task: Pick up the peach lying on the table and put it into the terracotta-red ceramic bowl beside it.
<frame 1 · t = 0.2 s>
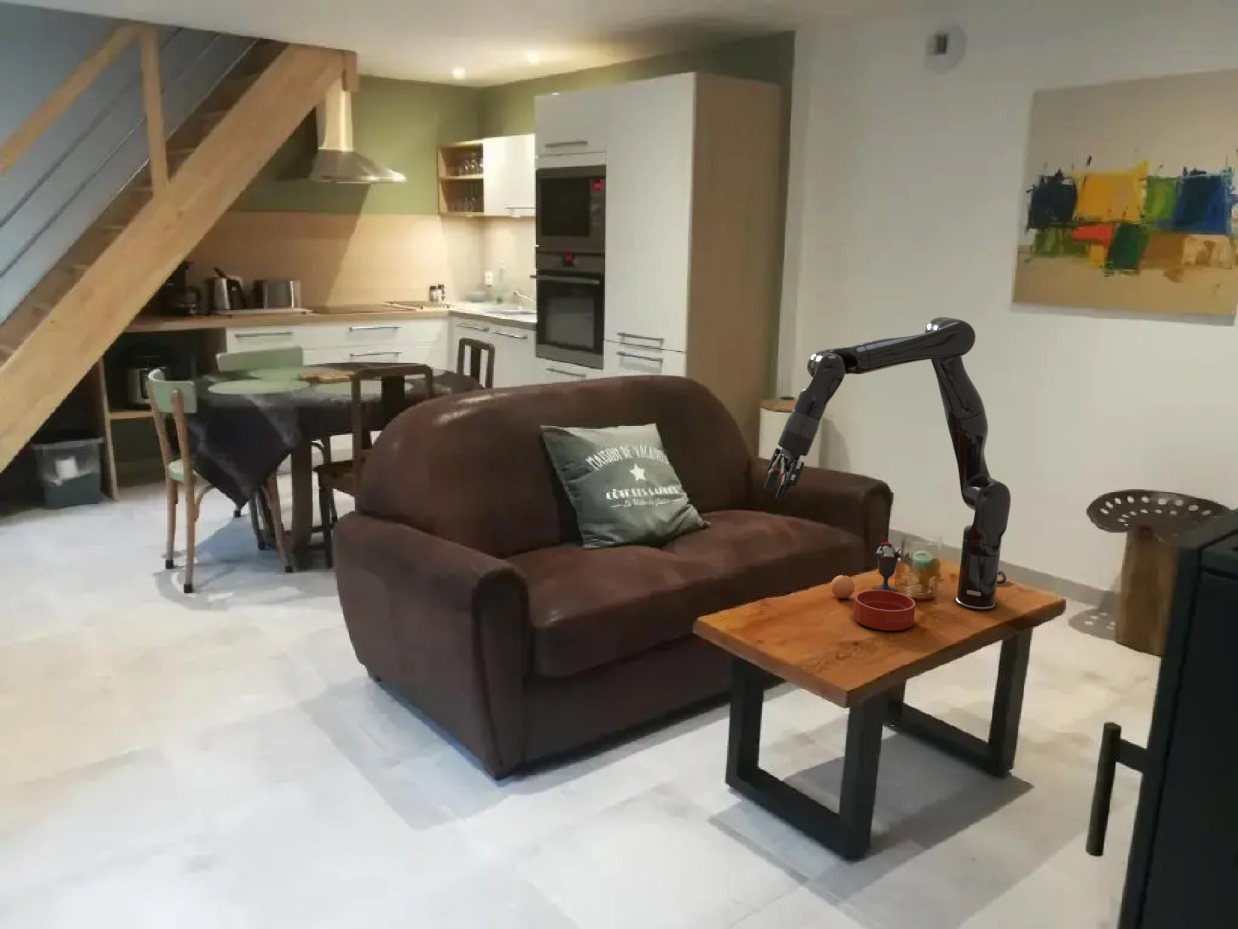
hand: (773, 495, 232), 31 cm above the table, tool tilted 20°, fingers open, 8 cm apart
peach: (841, 597, 252), on the table
bowl: (883, 621, 237), on the table
sundae: (884, 590, 259), on the table
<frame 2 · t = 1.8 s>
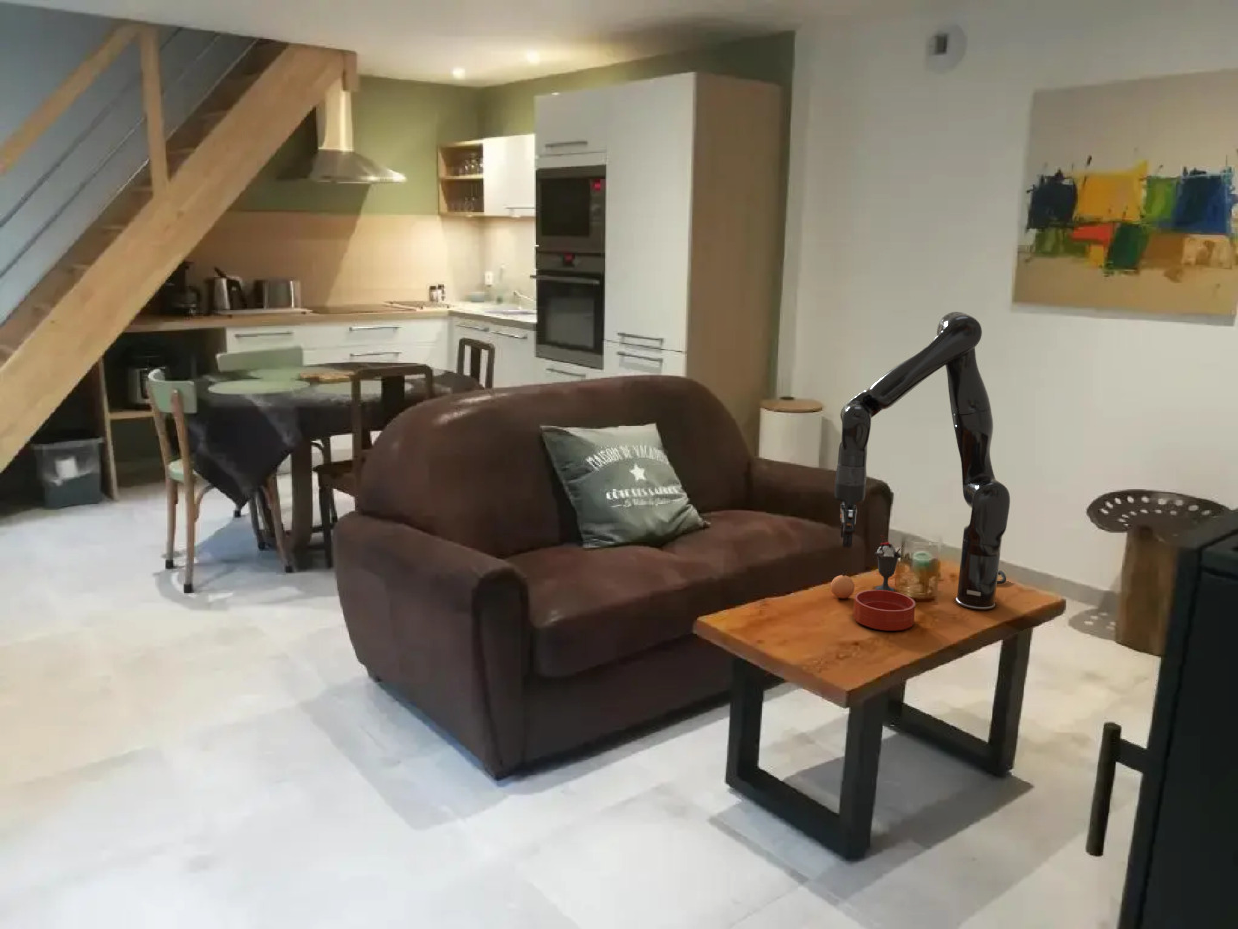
hand: (845, 542, 249), 15 cm above the table, tool pointing down, fingers open, 8 cm apart
nothing on the table moved.
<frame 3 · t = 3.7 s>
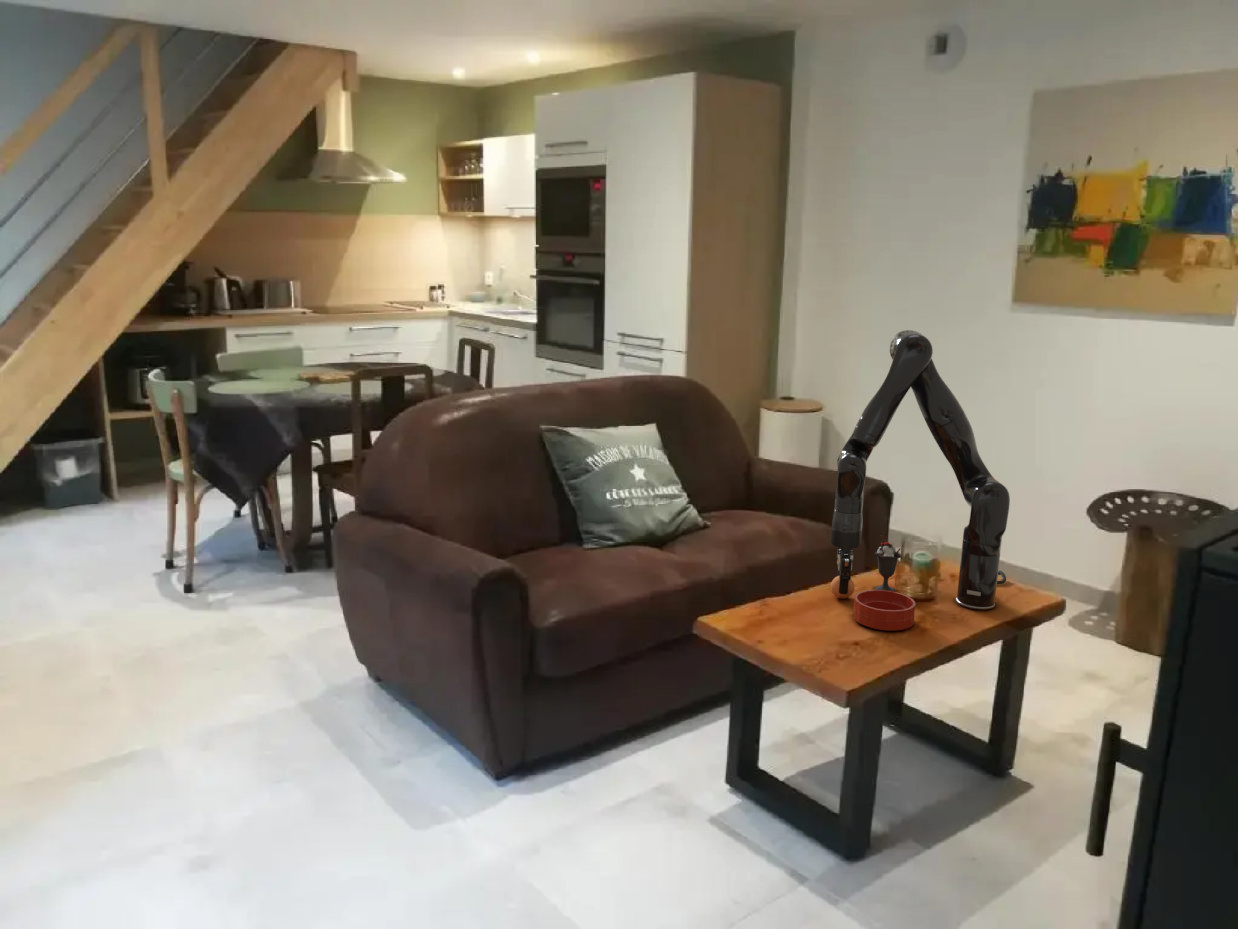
hand: (842, 588, 252), 2 cm above the table, tool pointing down, fingers closed on peach, 6 cm apart
peach: (841, 597, 252), on the table, touching gripper
everything else where it was.
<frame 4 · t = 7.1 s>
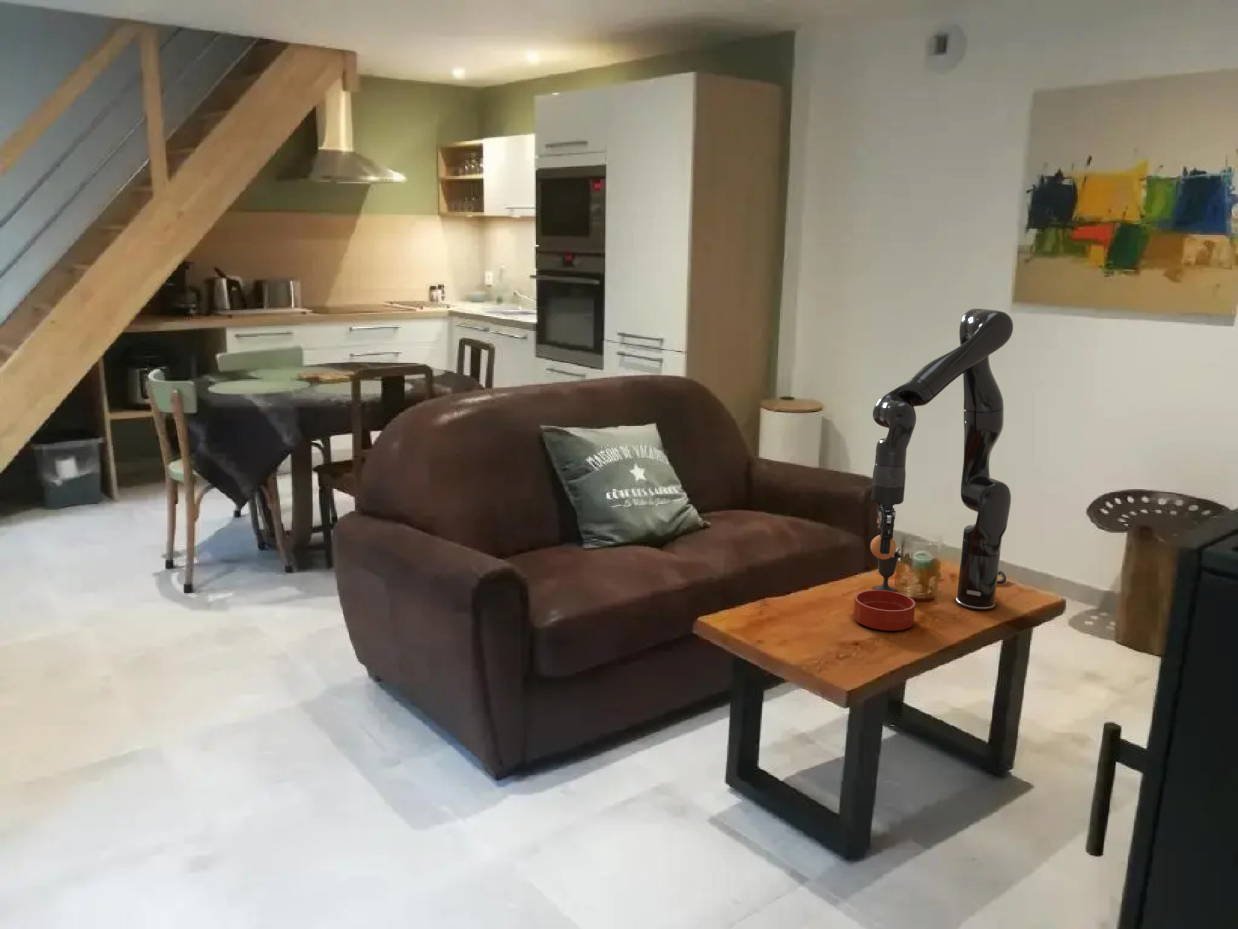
hand: (883, 549, 235), 18 cm above the table, tool pointing down, fingers closed on peach, 6 cm apart
peach: (882, 558, 236), point 15 cm above the table, touching gripper
everything else where it was.
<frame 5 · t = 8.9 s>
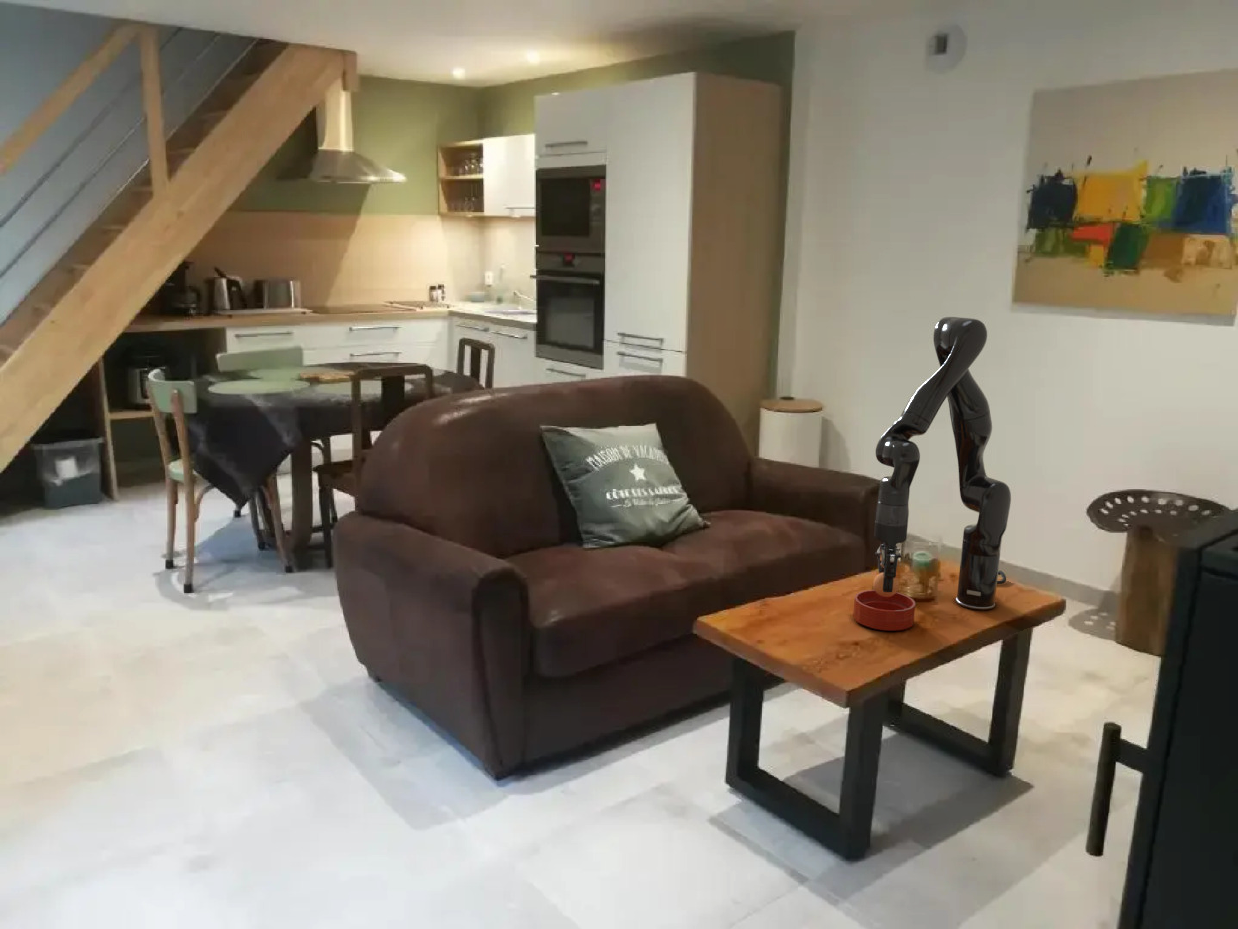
hand: (885, 586, 235), 9 cm above the table, tool pointing down, fingers closed on peach, 6 cm apart
peach: (885, 596, 236), point 7 cm above the table, touching gripper
everything else where it was.
when the fingers open (5 cm above the table, at t = 10.6 s): peach drops 2 cm, resting on bowl.
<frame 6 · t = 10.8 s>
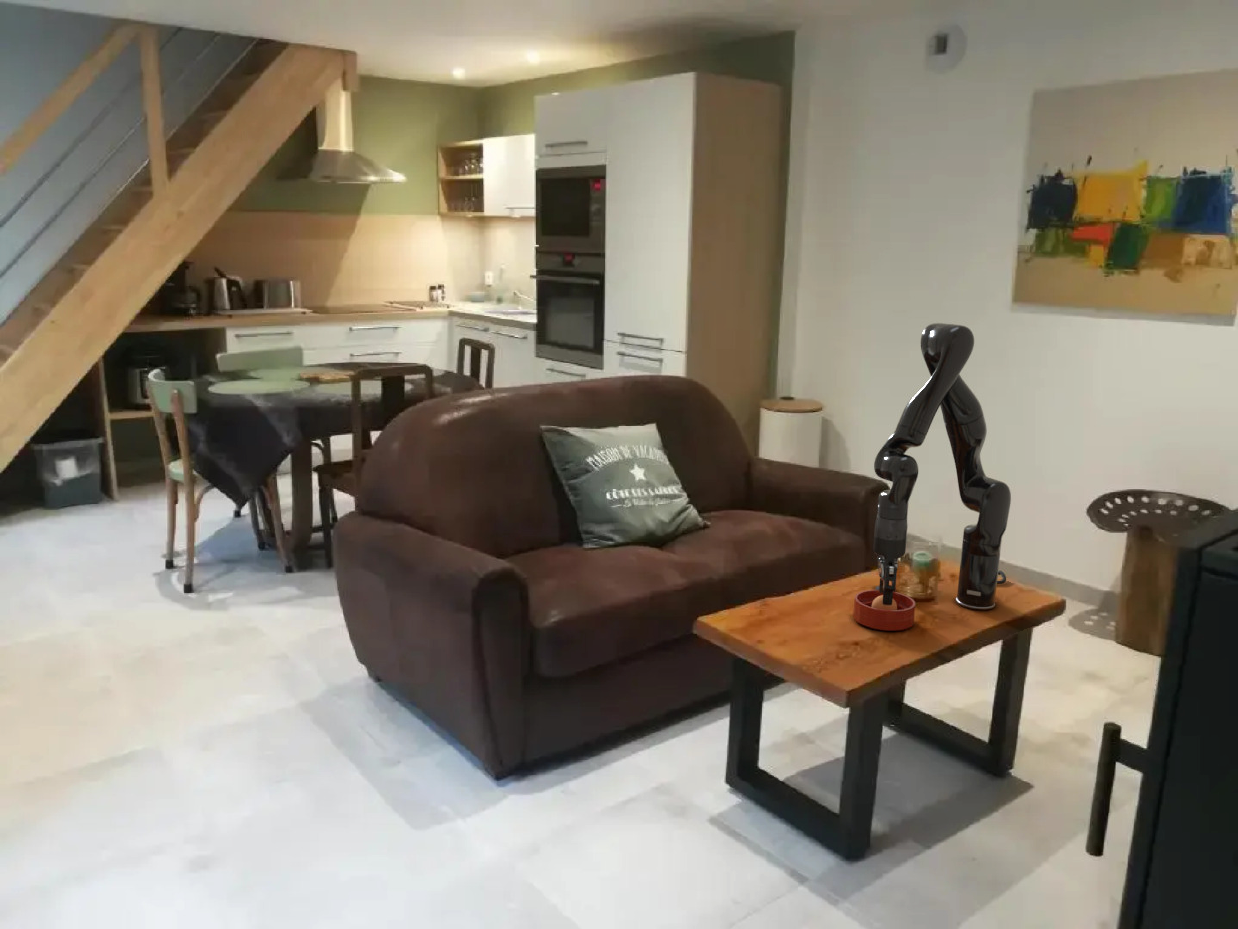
hand: (885, 598, 236), 6 cm above the table, tool pointing down, fingers open, 7 cm apart
peach: (883, 619, 237), point 1 cm above the table, touching bowl
everything else where it was.
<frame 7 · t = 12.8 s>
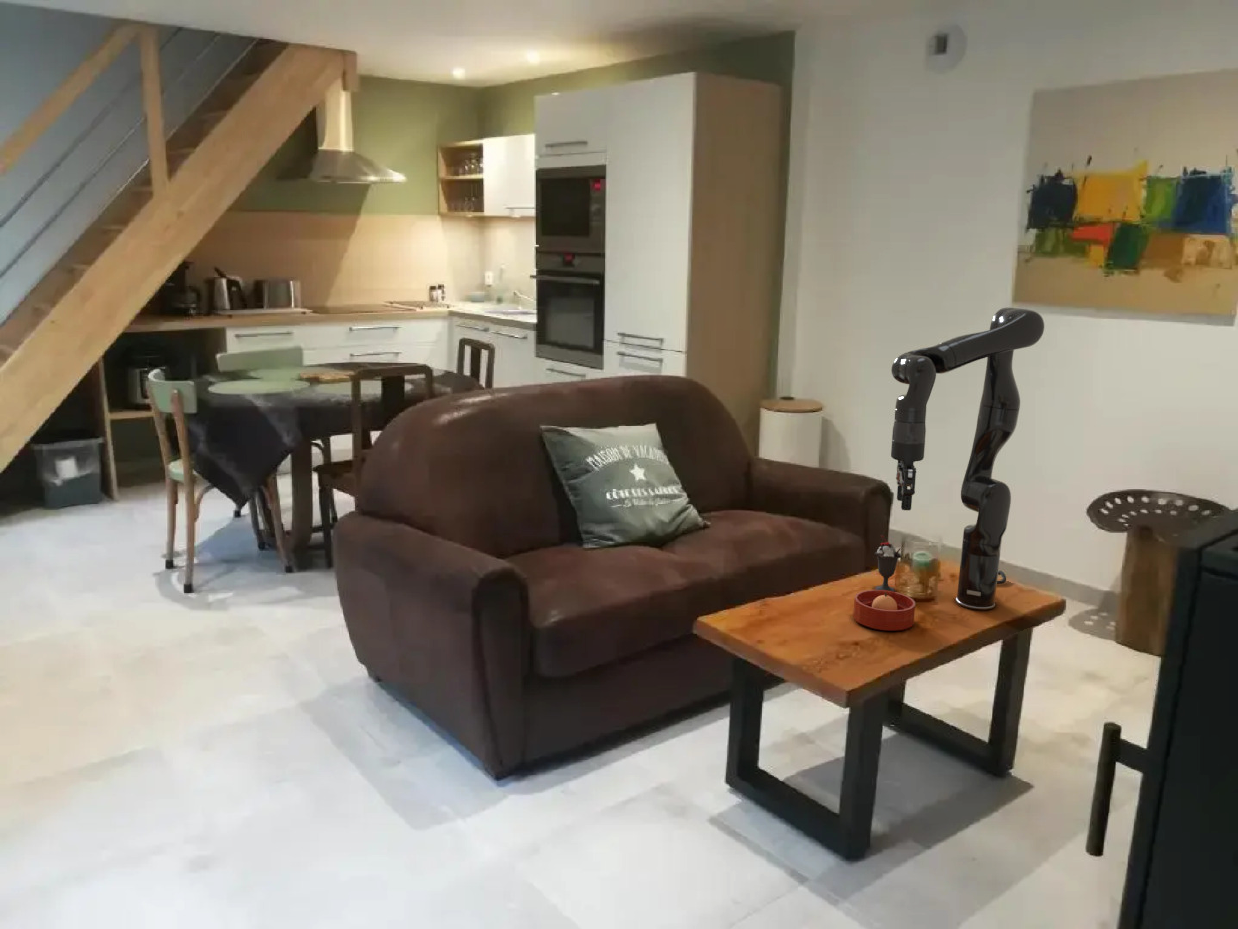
hand: (903, 505, 233), 29 cm above the table, tool pointing down, fingers open, 8 cm apart
nothing on the table moved.
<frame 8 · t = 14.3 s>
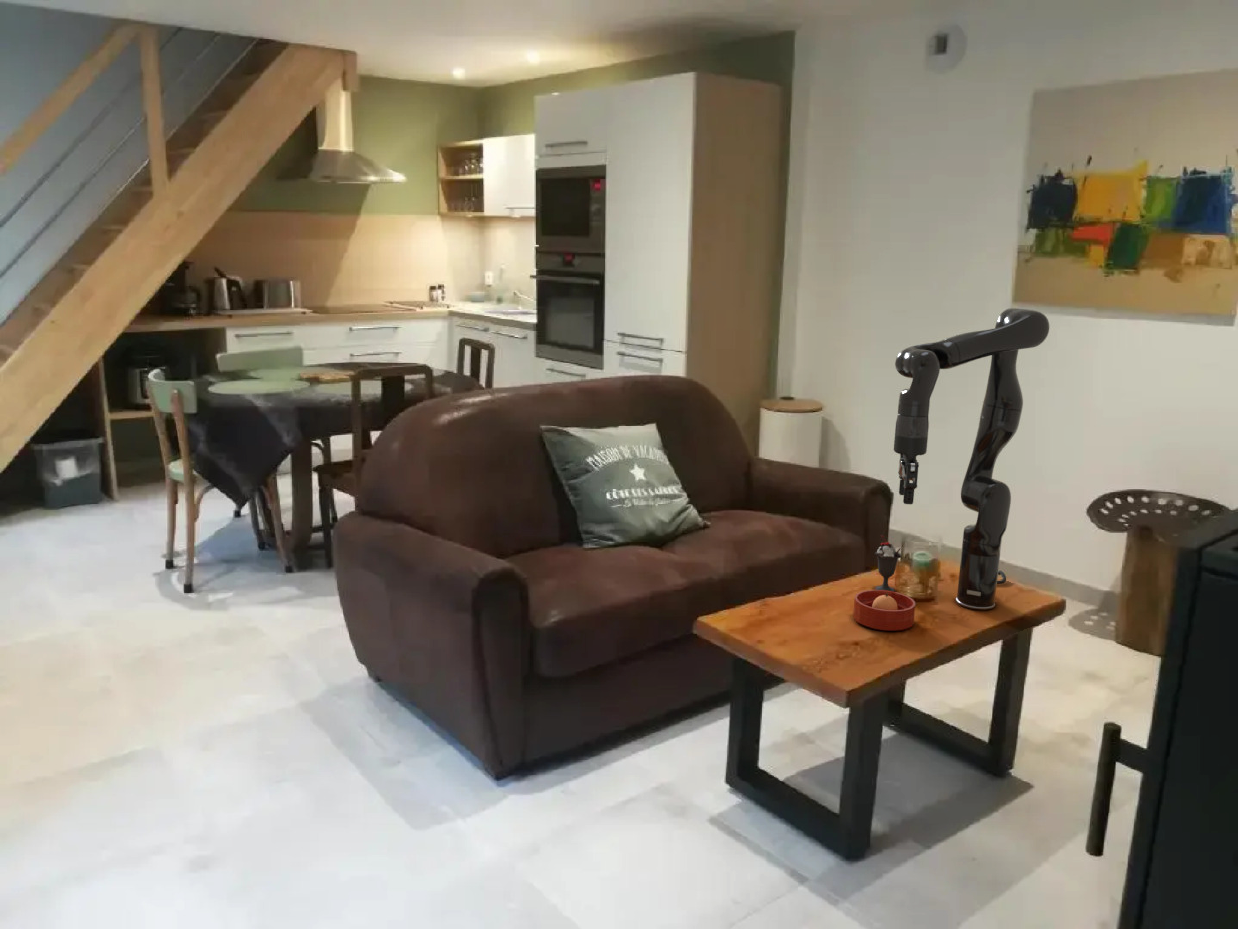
hand: (905, 499, 233), 30 cm above the table, tool pointing down, fingers open, 8 cm apart
nothing on the table moved.
at the end: peach 0.0 cm from the bowl (horizontally); peach point 0.6 cm above the table; the gripper is holding nothing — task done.
